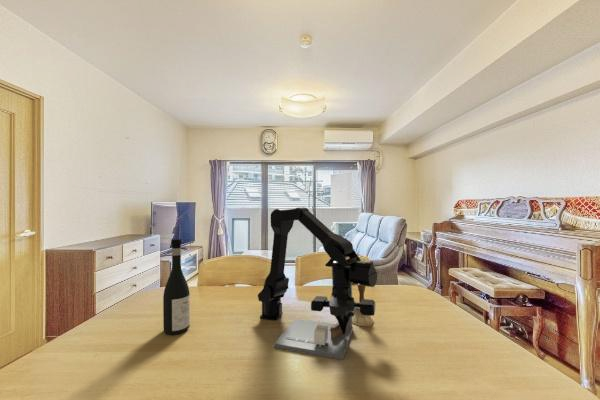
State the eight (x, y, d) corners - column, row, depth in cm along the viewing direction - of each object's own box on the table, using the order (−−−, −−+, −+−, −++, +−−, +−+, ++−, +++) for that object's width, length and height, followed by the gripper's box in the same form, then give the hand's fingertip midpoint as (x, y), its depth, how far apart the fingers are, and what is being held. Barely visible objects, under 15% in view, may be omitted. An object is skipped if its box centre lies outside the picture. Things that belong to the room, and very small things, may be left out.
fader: (314, 345, 80) (314, 330, 80) (317, 338, 84) (317, 324, 84) (324, 347, 79) (324, 332, 79) (327, 340, 83) (327, 326, 83)
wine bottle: (195, 327, 95) (194, 238, 95) (175, 337, 88) (175, 241, 88) (177, 322, 99) (177, 236, 99) (157, 332, 92) (157, 239, 91)
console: (274, 347, 82) (274, 328, 82) (296, 320, 100) (295, 305, 100) (342, 359, 76) (342, 339, 76) (353, 329, 94) (353, 312, 94)
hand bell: (374, 327, 95) (374, 279, 95) (349, 325, 97) (349, 278, 96) (373, 317, 103) (373, 273, 103) (350, 315, 105) (350, 272, 105)
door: (328, 337, 86) (328, 326, 86) (344, 325, 93) (344, 315, 93) (333, 339, 84) (333, 328, 84) (349, 327, 92) (349, 316, 92)
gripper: (304, 288, 81) (306, 342, 81) (371, 291, 75) (374, 351, 75) (314, 277, 92) (316, 326, 92) (374, 280, 86) (376, 332, 86)
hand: (344, 333), depth 86 cm, fingers closed
